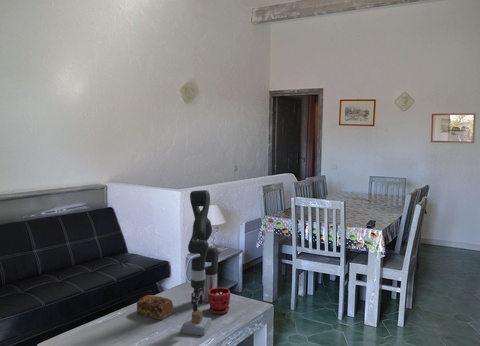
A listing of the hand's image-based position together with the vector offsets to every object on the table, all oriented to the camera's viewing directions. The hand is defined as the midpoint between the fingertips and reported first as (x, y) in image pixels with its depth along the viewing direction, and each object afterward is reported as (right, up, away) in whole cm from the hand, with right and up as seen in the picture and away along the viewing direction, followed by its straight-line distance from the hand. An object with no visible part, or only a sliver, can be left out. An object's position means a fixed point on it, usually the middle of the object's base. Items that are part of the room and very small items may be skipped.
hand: (197, 307), depth 206 cm
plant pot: (+10, -11, +24) cm, 28 cm away
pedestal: (-1, -12, +1) cm, 12 cm away
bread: (-27, -10, +17) cm, 33 cm away
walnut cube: (0, -8, 0) cm, 8 cm away
